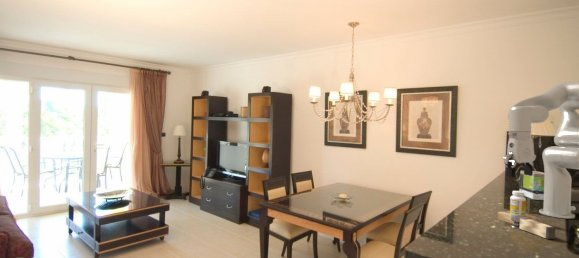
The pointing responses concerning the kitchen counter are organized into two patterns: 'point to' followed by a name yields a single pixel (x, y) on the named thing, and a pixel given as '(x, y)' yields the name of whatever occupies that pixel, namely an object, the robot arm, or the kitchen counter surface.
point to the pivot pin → (516, 225)
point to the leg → (534, 227)
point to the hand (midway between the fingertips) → (519, 175)
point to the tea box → (532, 185)
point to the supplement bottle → (518, 203)
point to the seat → (507, 217)
